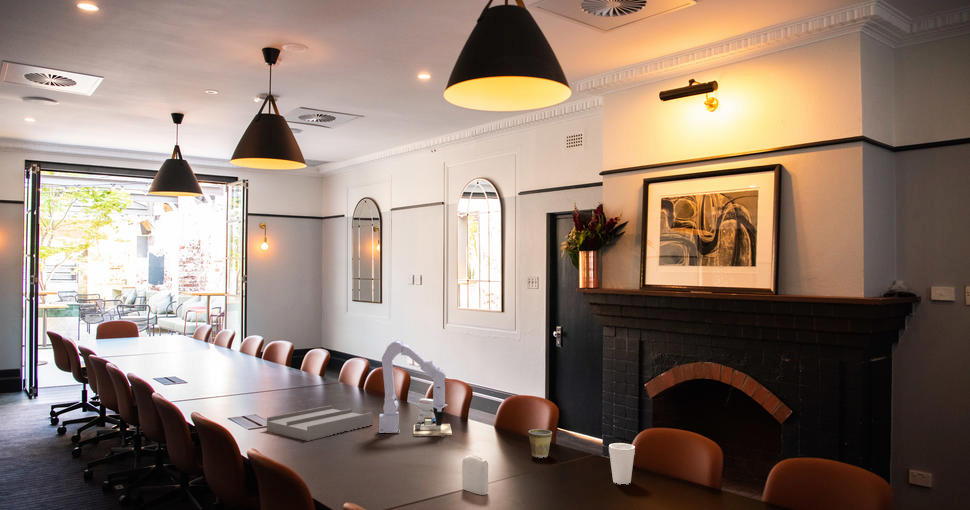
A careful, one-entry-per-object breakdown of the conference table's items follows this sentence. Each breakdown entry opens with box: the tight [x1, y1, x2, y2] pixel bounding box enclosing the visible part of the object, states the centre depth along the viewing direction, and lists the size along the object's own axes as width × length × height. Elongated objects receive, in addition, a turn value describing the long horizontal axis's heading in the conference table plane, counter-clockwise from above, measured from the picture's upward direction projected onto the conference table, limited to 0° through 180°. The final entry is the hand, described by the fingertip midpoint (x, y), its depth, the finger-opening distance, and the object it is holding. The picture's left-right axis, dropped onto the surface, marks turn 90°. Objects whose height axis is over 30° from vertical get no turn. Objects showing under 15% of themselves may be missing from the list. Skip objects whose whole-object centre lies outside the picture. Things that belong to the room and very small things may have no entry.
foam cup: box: [608, 442, 636, 485], centre depth 238 cm, size 10×9×13 cm
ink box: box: [417, 397, 436, 422], centre depth 336 cm, size 8×5×12 cm, turn 59°
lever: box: [415, 423, 443, 431], centre depth 311 cm, size 13×3×6 cm, turn 98°
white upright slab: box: [461, 454, 489, 496], centre depth 225 cm, size 10×4×12 cm, turn 47°
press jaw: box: [425, 419, 431, 425], centre depth 316 cm, size 3×3×4 cm
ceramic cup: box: [528, 428, 553, 459], centre depth 274 cm, size 13×10×10 cm
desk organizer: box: [266, 404, 373, 442], centre depth 320 cm, size 32×40×7 cm
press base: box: [413, 417, 453, 436], centre depth 314 cm, size 18×20×6 cm
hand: (438, 423), depth 312 cm, fingers open, 7 cm apart
